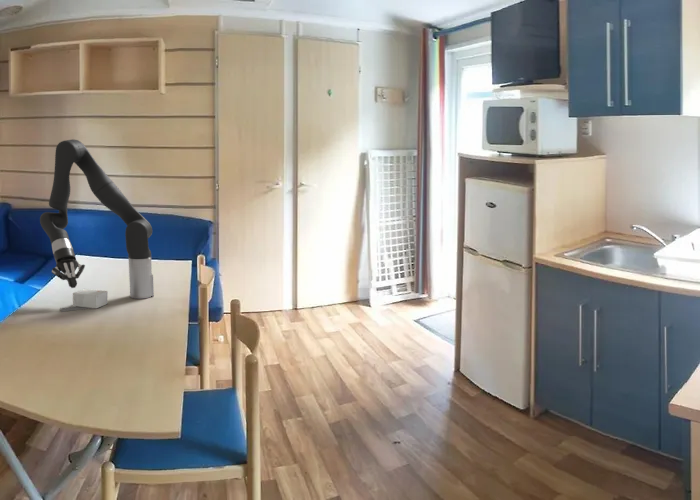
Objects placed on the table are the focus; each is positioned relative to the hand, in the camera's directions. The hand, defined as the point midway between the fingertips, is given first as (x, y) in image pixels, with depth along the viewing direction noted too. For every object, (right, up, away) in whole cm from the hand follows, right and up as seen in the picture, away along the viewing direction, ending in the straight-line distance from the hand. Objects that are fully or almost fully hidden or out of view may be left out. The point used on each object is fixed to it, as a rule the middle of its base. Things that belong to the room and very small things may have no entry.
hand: (73, 286), depth 229 cm
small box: (+1, -4, +2) cm, 5 cm away
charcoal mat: (+2, -9, -2) cm, 9 cm away
